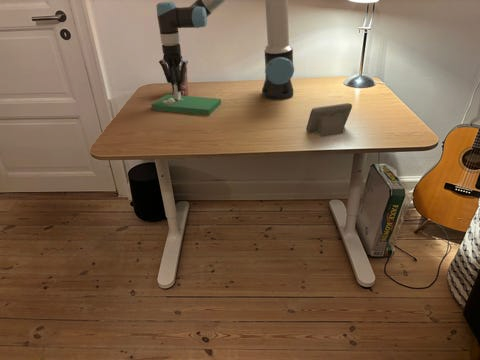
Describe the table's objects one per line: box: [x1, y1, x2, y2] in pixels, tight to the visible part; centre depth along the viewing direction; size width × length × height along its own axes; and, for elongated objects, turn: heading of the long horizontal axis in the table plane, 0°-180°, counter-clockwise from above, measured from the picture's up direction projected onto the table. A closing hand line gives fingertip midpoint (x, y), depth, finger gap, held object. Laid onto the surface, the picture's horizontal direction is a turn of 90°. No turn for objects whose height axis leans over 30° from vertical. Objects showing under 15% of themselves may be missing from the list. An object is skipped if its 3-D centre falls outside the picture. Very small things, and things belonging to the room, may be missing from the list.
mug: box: [172, 64, 189, 96], centre depth 171 cm, size 13×9×14 cm
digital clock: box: [305, 102, 353, 138], centre depth 129 cm, size 16×9×11 cm, turn 93°
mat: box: [151, 93, 222, 116], centre depth 158 cm, size 28×14×2 cm, turn 71°
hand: (178, 98), depth 158 cm, fingers closed
